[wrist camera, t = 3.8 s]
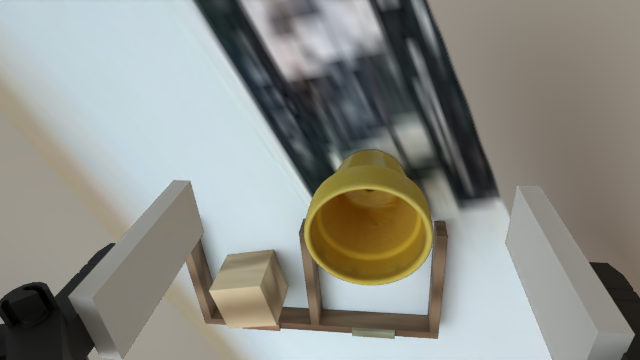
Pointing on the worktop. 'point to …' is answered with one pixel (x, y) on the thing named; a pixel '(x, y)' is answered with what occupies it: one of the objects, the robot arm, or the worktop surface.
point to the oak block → (250, 289)
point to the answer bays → (336, 319)
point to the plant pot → (369, 221)
